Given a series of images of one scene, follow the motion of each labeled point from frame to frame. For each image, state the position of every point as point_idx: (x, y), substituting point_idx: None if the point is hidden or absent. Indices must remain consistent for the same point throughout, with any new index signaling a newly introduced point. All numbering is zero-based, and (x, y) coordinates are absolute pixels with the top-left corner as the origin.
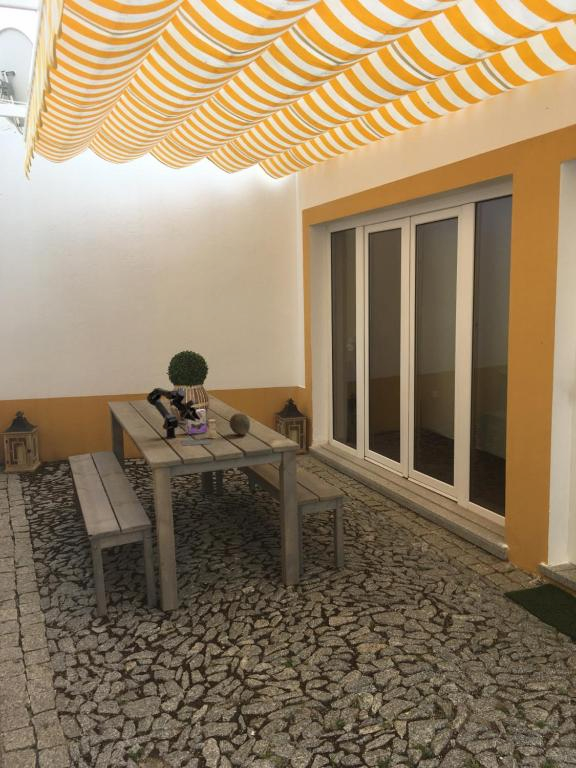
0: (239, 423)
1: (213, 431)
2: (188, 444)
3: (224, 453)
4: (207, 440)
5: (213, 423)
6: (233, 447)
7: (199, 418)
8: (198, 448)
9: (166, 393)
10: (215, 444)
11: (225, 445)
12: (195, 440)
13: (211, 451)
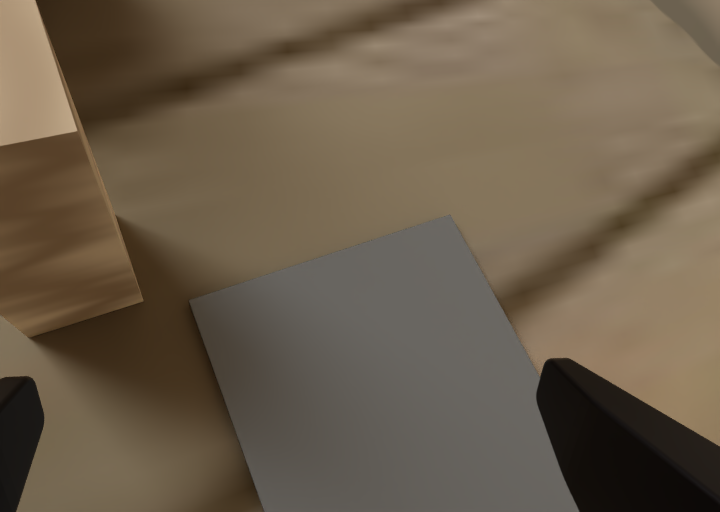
0: None
1: (105, 194)
2: None
3: (692, 54)
4: (302, 290)
5: (65, 86)
6: (510, 8)
7: (22, 402)
8: (652, 298)
9: None
10: (448, 165)
11: (463, 71)
12: (324, 478)
13: (689, 152)
